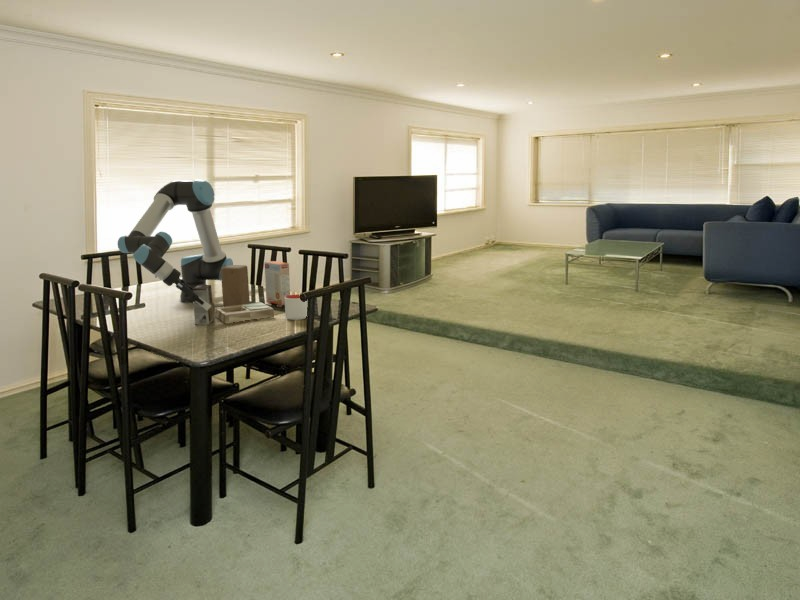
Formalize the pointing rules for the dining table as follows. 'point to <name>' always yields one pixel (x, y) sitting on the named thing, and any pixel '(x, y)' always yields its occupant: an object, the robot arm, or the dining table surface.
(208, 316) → the coffee box
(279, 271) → the cracker box
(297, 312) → the cup
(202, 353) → the dining table surface
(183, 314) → the dining table surface
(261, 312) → the hole board
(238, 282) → the wooden block
